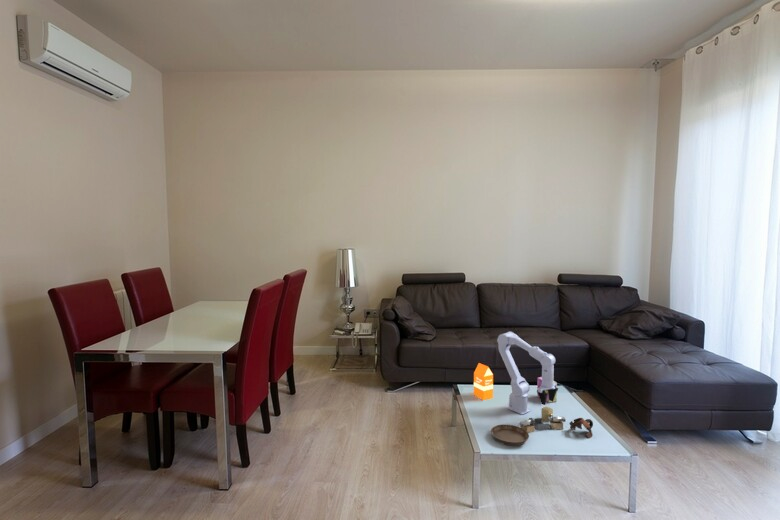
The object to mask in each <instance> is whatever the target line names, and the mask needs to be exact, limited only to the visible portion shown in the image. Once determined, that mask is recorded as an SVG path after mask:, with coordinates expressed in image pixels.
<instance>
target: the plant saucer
mask: <svg viewBox="0 0 780 520" xmlns="http://www.w3.org/2000/svg"><path fill="white" fill-rule="evenodd" d="M490 433H491V435H492V437H493V438H494V439H495V440H496V441H497V442H499V443H500V444H503V445H505V446H511V447H514V446H515V447H516V446H522V445H524V444H525V443H526V442H527V441H528V440H529V437H530V434H529V433H528V432H527V431H525V430H524V429H522V428H520V426H517V425H513V424H498V425H495V426H492V428H491V430H490Z"/></svg>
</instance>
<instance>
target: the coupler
mask: <svg viewBox="0 0 780 520" xmlns="http://www.w3.org/2000/svg"><path fill="white" fill-rule="evenodd" d="M553 411H554V409H553V408H551V407H549V406H543V407H542V408H541V417H540V418H542V421H545V422H547V423H550V422H549V421H548V417H549V416H552V417H554V415H553V413H554V412H553Z"/></svg>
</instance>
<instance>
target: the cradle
mask: <svg viewBox="0 0 780 520" xmlns="http://www.w3.org/2000/svg"><path fill="white" fill-rule="evenodd" d="M533 419H534V420H535V423H534V424H533V425H534V429H536V431H543V430H546V431H547V430H550V422H547V423H544V422H543V420H542V418H541V417H537V418H533Z"/></svg>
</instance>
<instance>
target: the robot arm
mask: <svg viewBox="0 0 780 520" xmlns="http://www.w3.org/2000/svg"><path fill="white" fill-rule="evenodd" d="M496 341H497V343H498V352H499V354H500V356H501V358H502V361H503V362H504V365H505V368H506V370H507V372H508V374H509V377H510V379H511V381H510V387H511V393H510V394H509V398H508V408H507V409H509V410H511V411H513V412H515V413H517V414H520V415H526V414H527V413H529V412H531V409H529V408H528V392H529V391H530V388H531V387H530V384H529V383H528V382H527V381H526V378H524V377H523V376H521V373H520V372H519V368H518V366H517V365H516V362H515V360H514V358H513V356H512V353H511V351H510V348H511V346H512V345H516V346H518V347H519V348H521V349H523V350H525V351H527V352H528V354H529V356H530V357H532V358H534V360H536V361H538V362H540V365H541V377H542V385H541V386H540V387H539V388H538V390H536V393H538V395H539V397H538V398H539V401H540V404H541V405H543V406H545V405H546V404H547V401H546V398H547V395H548V394H549V400H550V401H554V397H555V394H556V392H557V393H558V390H559V388H558V384H557V383H555V382H556V381H555V380H554V379H555V378H554V377H555V376H554V374H555V373H554V371H555V368H554V367H555V366H554V364H556V361H557V360H556V357H555V356H554V355H553V354H552V353H548V352H546V351H544V350H542V349H541V348H540V347H539V346H531V345H530V344H529V343H527V341H524V340H523V339H522V338H520V336H519V335H517V334H516V333H514V332H513V331H507V332H506V333H505V332H504V333H500V334H499V335H498V336H497V339H496ZM553 381H555V382H553ZM556 387H557V388H556ZM545 390H548V393H546V392H545Z"/></svg>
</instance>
